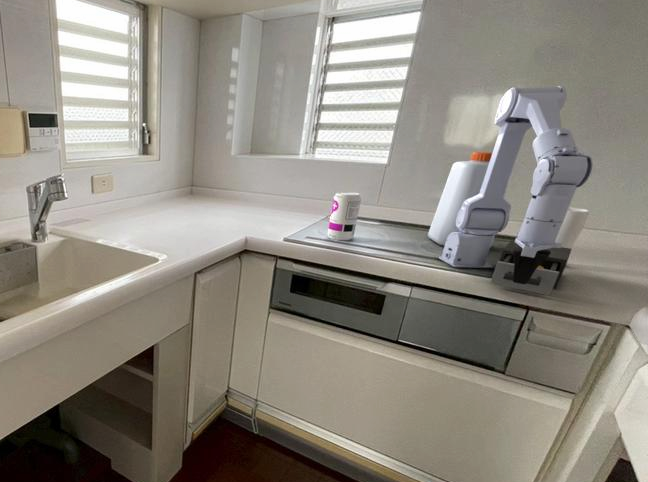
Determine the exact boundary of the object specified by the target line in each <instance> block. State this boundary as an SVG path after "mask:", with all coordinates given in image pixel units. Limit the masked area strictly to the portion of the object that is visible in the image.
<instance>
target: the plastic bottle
mask: <svg viewBox="0 0 648 482" xmlns="http://www.w3.org/2000/svg"><path fill="white" fill-rule="evenodd" d="M492 153H493V151H491V152H489V151H473V152H472V153H471V155H470V159H469V160H464V161H460V160H459V161H456V162H454V163H453V164H452V166H451V169H450V171H449V174H448V177H447V180H446V183H445V186H444V187H443V190H442V194H441V197H440V199H439V202H438V205H437V208H436V210H435V213H434V216H433V219H432V222H431V225H430V228H429V230H428V233H427V237H428V238H429V239H430V240H431V241H433V242H435V243H436V244H438V245H440V246H443V247H444V246H445V243H446V239H447V237H448V236H449V234H450V233H453V232H459V231H460V230H459V229H458V228H457V226H456V218H457V215H458V212H459V211H460V209H461V207H462V204H463V203H464V201H465V200H467V199H469V198H472V197H474V196H476V195H478V194H479V193H480V190H481V187H482V184H483V181H484V178H485V175H486V171H487V168H488V165H489V162H490V159H491V156H492ZM508 183H509V182H508ZM508 183H507V186H506V189H505V192H504V194H503V198H504V199H505V197H506V191H507V188H508ZM480 208H484V207H480ZM495 236H496V235H494V237H493V240H492V243H491V246H490V248H491V247H493V244H494V241H495Z"/></svg>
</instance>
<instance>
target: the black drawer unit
mask: <svg viewBox="0 0 648 482" xmlns="http://www.w3.org/2000/svg"><path fill="white" fill-rule="evenodd" d="M515 247H521V246H519V245H518V244H517V243H515V239H511V240H510V241H509V242H508V243H507V245H506V246H505V247H504V248H503V249H502V250H501V254H500V257H499V259H498V261H501V262H503V261H504V260H505V258H506V257H507V256H508V255H509V254H511V255H513V254H512V250H513V249H514V248H515ZM544 250H549V251H551V253H550V255H549V257H548V258H547V259H546V260H548V261H554V262H559V263H558V265H557V268H556V270H555V271H558V272H559V275H558V277H557V279H556V282H555V284H554V287H553V289H554V290H556V289H557V287H558V285H559V282H560V280H561V277H562V275H563V273H564V270H565V268H566V266H567V264H568V261H569V258H570V255H571V253H572V249H570V248H563V247H561V248H549V249H544ZM553 289H552V290H553Z"/></svg>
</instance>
